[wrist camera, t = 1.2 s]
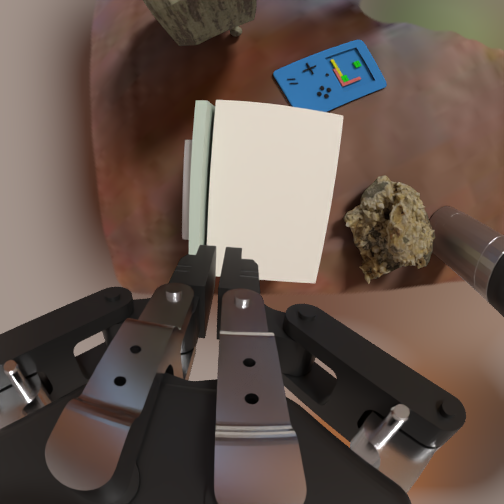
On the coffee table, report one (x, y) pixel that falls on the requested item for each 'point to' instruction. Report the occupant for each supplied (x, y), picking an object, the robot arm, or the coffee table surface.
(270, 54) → the coffee table surface
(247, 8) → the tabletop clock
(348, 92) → the handheld gaming device
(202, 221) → the door
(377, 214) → the mineral specimen
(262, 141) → the case
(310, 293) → the coffee table surface
